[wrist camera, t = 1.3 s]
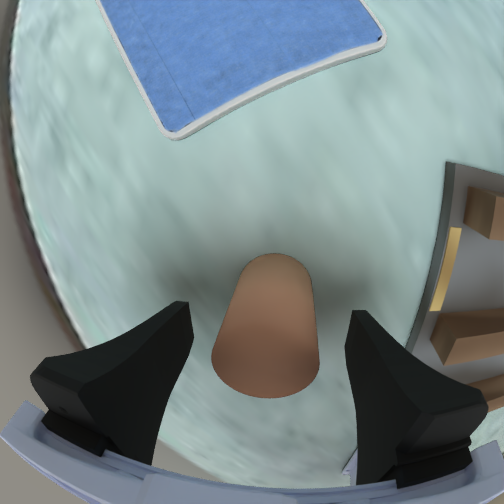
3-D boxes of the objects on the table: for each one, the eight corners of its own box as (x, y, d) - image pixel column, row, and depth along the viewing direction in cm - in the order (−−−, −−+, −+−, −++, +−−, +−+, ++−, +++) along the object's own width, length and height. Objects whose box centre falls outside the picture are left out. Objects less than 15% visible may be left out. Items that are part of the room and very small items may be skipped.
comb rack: (493, 386, 16) (506, 409, 13) (377, 409, 18) (384, 443, 15) (563, 197, 9) (591, 210, 6) (446, 161, 11) (484, 169, 8)
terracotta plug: (308, 318, 16) (312, 400, 10) (240, 315, 16) (216, 393, 11) (314, 254, 14) (326, 325, 9) (237, 252, 15) (205, 318, 9)
